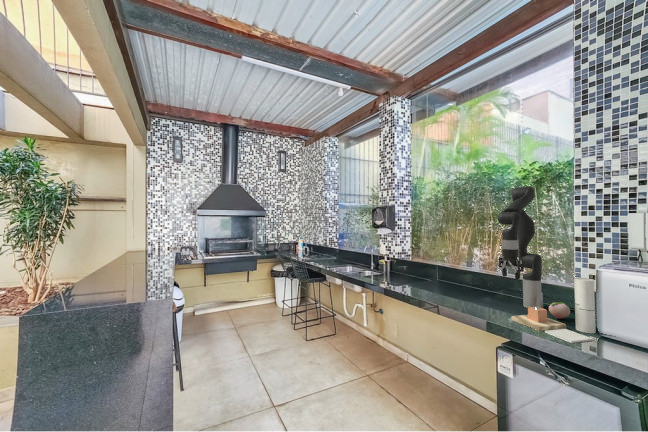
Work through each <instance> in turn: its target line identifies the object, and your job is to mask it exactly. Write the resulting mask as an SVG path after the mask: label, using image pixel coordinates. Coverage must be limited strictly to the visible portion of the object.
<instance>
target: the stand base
mask: <svg viewBox="0 0 648 432" xmlns="http://www.w3.org/2000/svg"><path fill="white" fill-rule="evenodd" d="M511 320H512V321H513V322H516V323H519V324H521V325H524V326H525V325H526V326H525V327H529V328H530V327H531V328H530V329H533V330H535V329H536V331H538V332H543V331H544V332H545V331H548V330H559V329H567V324H566V323H563V322H560V321H558V320H554V319H552V318H549V317H547V322H536V321H533V320H530V319H528V314H522V315H513V316H512V315H511Z"/></svg>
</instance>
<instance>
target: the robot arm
mask: <svg viewBox="0 0 648 432" xmlns="http://www.w3.org/2000/svg"><path fill="white" fill-rule="evenodd" d="M535 193H536V192H535V190H534V188H533V187H532V186H521V187H514V188H512V189H511V200H512V202H511V203H510V204H509V205H508V206H507V208H505V209H503V210H501V211H500V213H499V214H498V215H497V222H498V224H500V225H504V226H505V225H507V226H508V225H511V227H509V228H504V229H503V230H502V231H501V239H502V241H501V256H502V257H501V256H500V257H498V269H501V274H502V277H507V276H508V267H509V268H512V270H514V279H515V280H520V279H521V273H522V272H524V271H525V270H524V269H531V272H527V273H526V272H525V273H523V274H522V295H523V296H522V299H523V301H522V303H523V306H522V307H524V308H526V309H528V307H539V308H543V309H544V300H543V299H544V295H543V294H544V293H543V292H542V270H543V269H542V266H543V260H542V257H541V255H540V254H538V253H528V247H529V244H530V242H531V241H532V239H533V238H534V236H535V234H536V227H535V222H534V220H533V218H531V216H530V215H529V214H528V213H527V212H526V211H525V208H526V207H527V206H528V205H529V204H530V203H531V202H533V201H534V199H535V196H536V195H535Z"/></svg>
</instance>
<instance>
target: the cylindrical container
mask: <svg viewBox="0 0 648 432" xmlns="http://www.w3.org/2000/svg"><path fill="white" fill-rule="evenodd" d="M573 286H574V287H573V288H574V313H575V316H574V317H575V330H576V331H579V332H581V333H584V334H585V333H586V334H596V328H597V327H596V310H595V309H596V305H595V304H596V303H595V301H596V299H595V279H592V278H586V277H574V278H573Z"/></svg>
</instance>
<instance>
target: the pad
mask: <svg viewBox="0 0 648 432" xmlns="http://www.w3.org/2000/svg"><path fill="white" fill-rule="evenodd" d="M544 333H546V334H547V335H551V336H553V337H555V338H558V339H561V340H563V341H566V342H567V343H569V344H570V343H571V344H574V343H585V342H593V341H594V338H593V337H590V336H587V335H584V334H580V333H578V332H576V331H572V330H569V329H568V328H566V329H556V330H546V331H544Z"/></svg>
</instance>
